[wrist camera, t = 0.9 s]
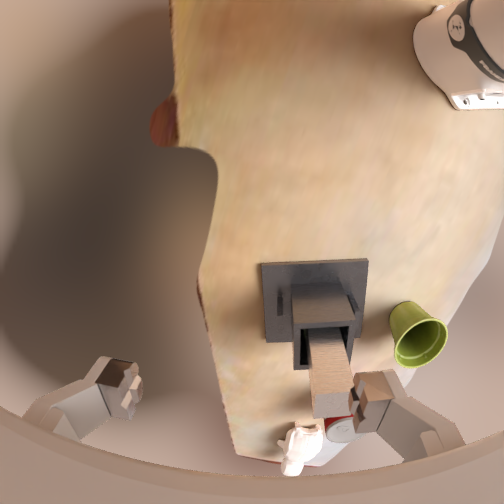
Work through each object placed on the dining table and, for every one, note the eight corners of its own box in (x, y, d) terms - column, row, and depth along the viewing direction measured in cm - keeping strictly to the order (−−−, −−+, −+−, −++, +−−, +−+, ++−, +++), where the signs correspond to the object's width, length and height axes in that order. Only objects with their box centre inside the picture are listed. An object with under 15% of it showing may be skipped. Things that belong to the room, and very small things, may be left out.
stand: (366, 258, 43) (395, 300, 31) (358, 334, 48) (377, 385, 36) (261, 263, 45) (255, 307, 33) (266, 339, 50) (262, 393, 37)
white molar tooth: (287, 413, 61) (269, 459, 60) (292, 432, 52) (271, 480, 52) (322, 418, 61) (302, 463, 60) (330, 437, 52) (307, 483, 52)
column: (330, 293, 44) (357, 389, 25) (328, 319, 46) (351, 418, 27) (302, 295, 44) (314, 393, 26) (301, 321, 46) (311, 421, 27)
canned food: (331, 372, 51) (339, 416, 41) (366, 380, 52) (378, 422, 42) (313, 398, 54) (317, 440, 44) (347, 404, 54) (354, 445, 44)
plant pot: (369, 320, 47) (383, 352, 39) (409, 281, 44) (430, 308, 36) (398, 345, 48) (413, 376, 40) (435, 310, 45) (456, 338, 37)
